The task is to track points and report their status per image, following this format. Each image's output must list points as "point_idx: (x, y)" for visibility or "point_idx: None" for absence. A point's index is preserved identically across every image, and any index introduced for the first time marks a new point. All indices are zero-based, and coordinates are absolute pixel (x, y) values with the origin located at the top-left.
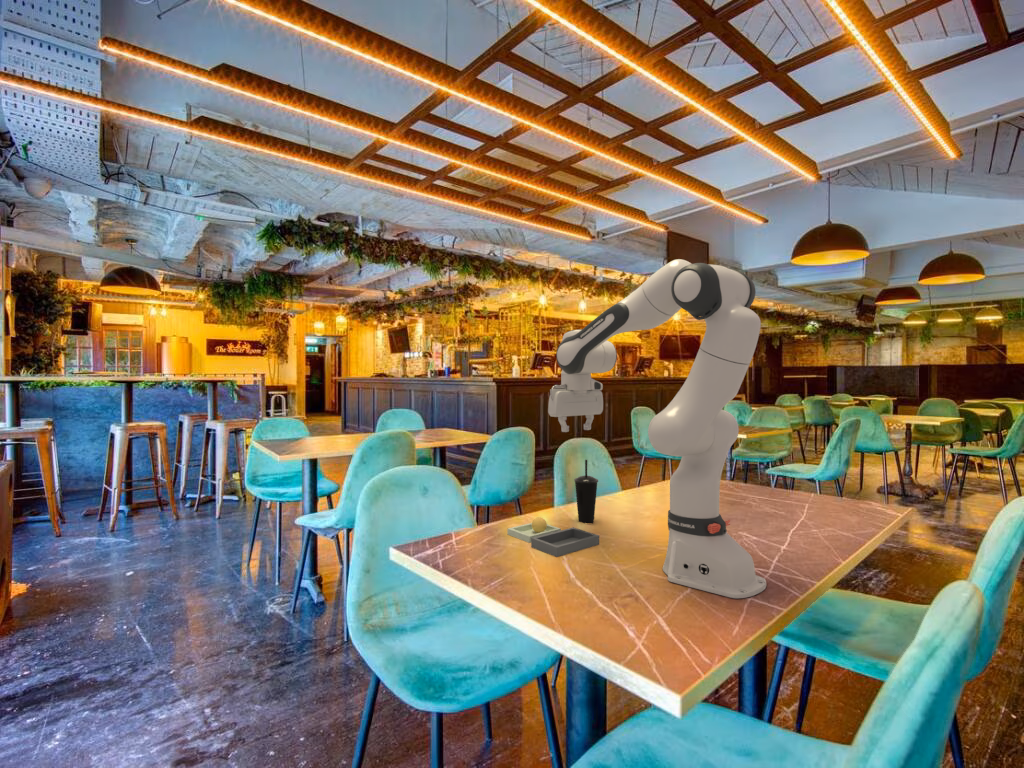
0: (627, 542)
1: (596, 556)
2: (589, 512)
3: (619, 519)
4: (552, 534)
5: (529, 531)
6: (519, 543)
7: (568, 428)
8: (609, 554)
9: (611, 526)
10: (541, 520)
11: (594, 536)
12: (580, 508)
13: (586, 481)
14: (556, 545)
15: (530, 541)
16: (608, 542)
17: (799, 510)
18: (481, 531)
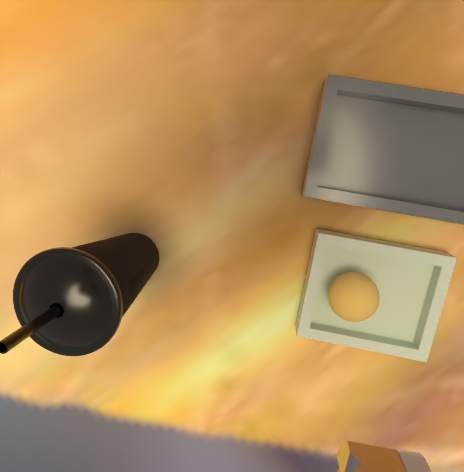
0: (230, 36)
1: (412, 33)
2: (136, 242)
3: (38, 191)
4: (413, 203)
5: None
6: (451, 283)
7: (364, 469)
8: (370, 13)
9: (121, 168)
10: (365, 288)
11: (348, 80)
12: (147, 273)
13: (103, 277)
14: (420, 175)
15: (446, 253)
16: (269, 82)
17: None
18: (425, 435)
